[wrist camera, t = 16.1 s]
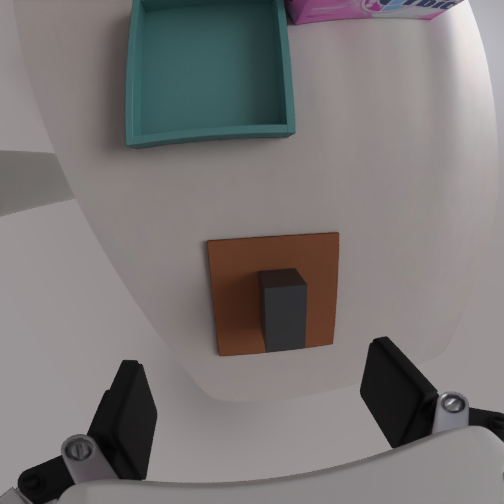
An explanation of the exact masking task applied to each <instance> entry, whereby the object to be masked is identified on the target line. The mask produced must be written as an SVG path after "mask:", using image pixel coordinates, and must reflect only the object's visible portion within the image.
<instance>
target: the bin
mask: <svg viewBox="0 0 504 504" xmlns="http://www.w3.org/2000/svg"><path fill="white" fill-rule="evenodd" d="M294 133H296V126H295V110H294V96H293V84H292V72H291V61H290V50H289V41H288V31H287V23H286V14H285V6H284V0H133V4H132V12H131V20H130V28H129V38H128V50H127V64H126V87H125V141H126V146H129V147H132V148H135V149H139V148H146V147H154V146H161V145H170V144H178V143H188V142H199V141H211V140H225V139H244V138H288V137H289V136H291V135H293V134H294Z"/></svg>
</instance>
